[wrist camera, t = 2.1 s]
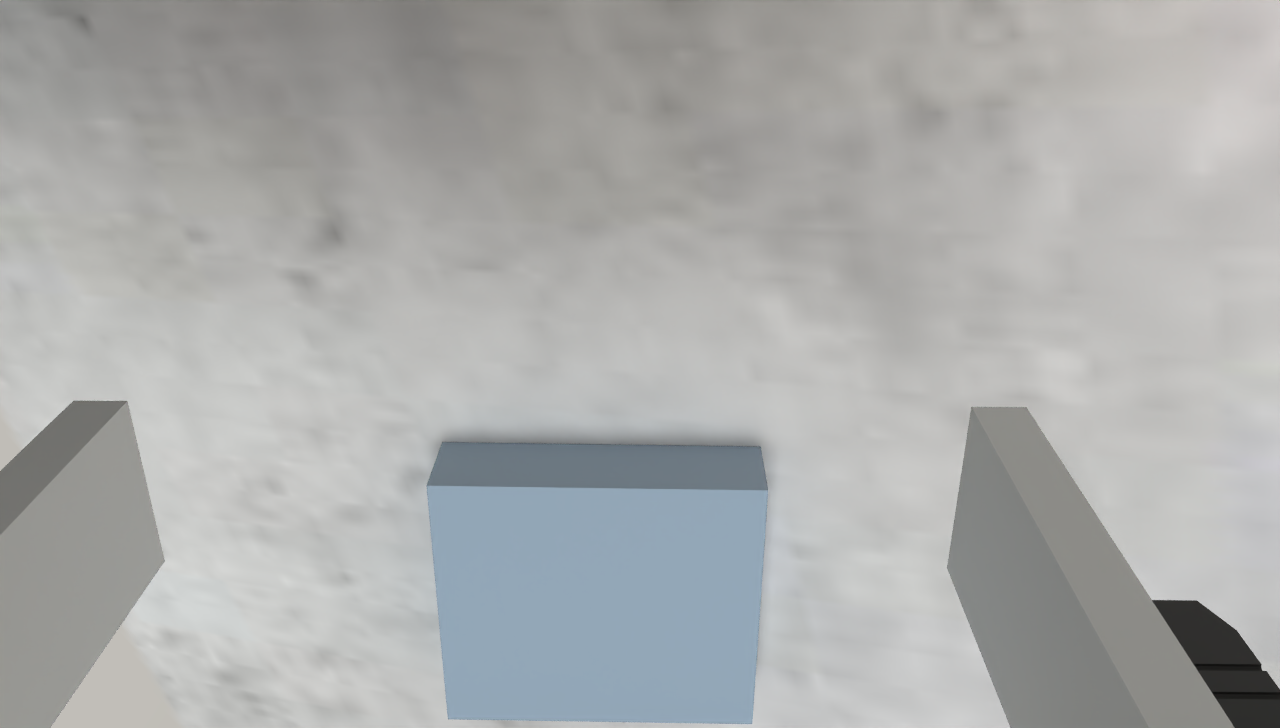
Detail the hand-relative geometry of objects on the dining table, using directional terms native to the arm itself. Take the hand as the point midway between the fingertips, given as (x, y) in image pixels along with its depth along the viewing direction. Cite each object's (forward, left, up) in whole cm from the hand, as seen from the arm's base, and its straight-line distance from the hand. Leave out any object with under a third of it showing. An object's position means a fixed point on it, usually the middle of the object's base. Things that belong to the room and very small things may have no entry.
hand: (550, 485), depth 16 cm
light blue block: (0, -13, -17) cm, 21 cm away
